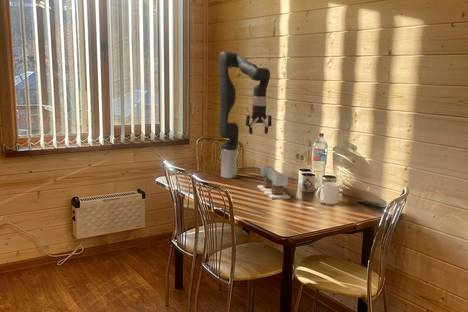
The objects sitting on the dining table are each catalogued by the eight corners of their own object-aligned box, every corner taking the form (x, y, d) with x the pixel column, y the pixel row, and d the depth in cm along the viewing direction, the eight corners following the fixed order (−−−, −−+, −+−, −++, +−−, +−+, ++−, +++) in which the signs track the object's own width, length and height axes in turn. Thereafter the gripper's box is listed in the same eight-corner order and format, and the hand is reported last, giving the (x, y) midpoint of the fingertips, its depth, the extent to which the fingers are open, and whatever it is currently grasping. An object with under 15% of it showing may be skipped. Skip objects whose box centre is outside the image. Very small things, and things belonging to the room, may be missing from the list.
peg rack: (256, 186, 257) (257, 174, 256) (273, 186, 260) (274, 174, 259) (271, 199, 233) (272, 186, 231) (290, 198, 235) (290, 185, 234)
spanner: (260, 174, 257) (260, 165, 256) (271, 174, 258) (271, 165, 258) (275, 185, 232) (276, 176, 231) (287, 185, 234) (288, 175, 233)
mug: (333, 199, 236) (335, 181, 234) (341, 204, 227) (342, 186, 226) (311, 199, 234) (312, 182, 232) (318, 205, 225) (319, 186, 223)
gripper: (269, 104, 255) (268, 132, 258) (245, 104, 252) (244, 133, 255) (273, 105, 248) (272, 134, 251) (248, 105, 245) (247, 135, 248)
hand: (258, 133), depth 253 cm, fingers open, 8 cm apart
